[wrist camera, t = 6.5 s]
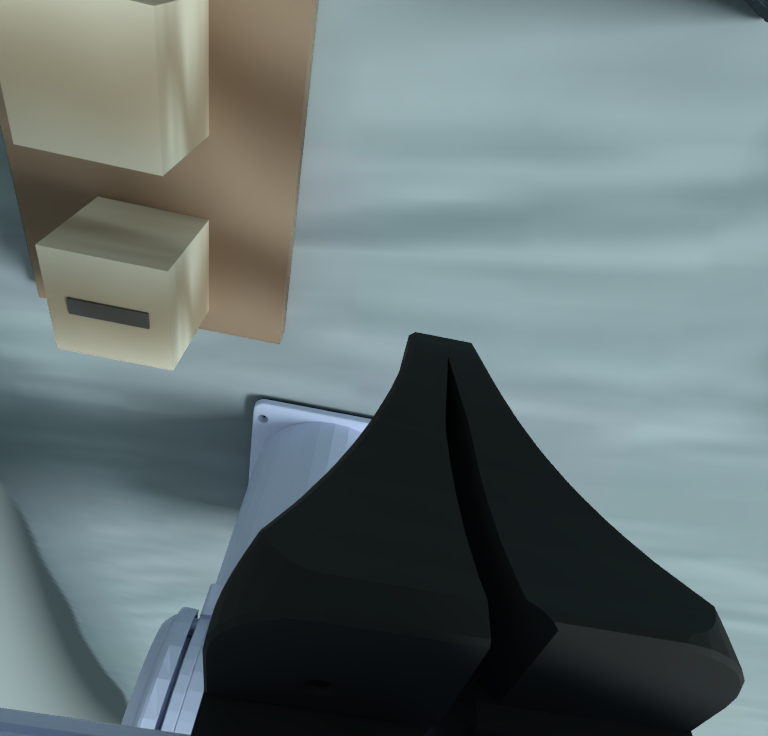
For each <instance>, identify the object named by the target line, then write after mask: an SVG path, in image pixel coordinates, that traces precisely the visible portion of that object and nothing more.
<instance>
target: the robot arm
mask: <svg viewBox="0 0 768 736" xmlns="http://www.w3.org/2000/svg"><path fill="white" fill-rule="evenodd" d="M261 415H264V416H266V417H262V416H261ZM198 611H199V610H197V609H193V608H189V607H184V608H182V609H181V610H180V611H179V613H178V614H176V615H174V616H172V617H171V618H169V619H167V620H166V621H165V622H164V623H163V624H162V625H161V627H160V629H159V631H158V633H157V635H156V637H155V639H154V641H153V643H152V645H151V648H150V650H149V652H148V655H147V657H146V659H145V662H144V664H143V667H142V669H141V672H140V674H139V677H138V679H137V682H136V685H135V687H134V690H133V693H132V695H131V698H130V701H129V704H128V706H127V709H126V712H125V715H124V718H123V721H122V724H121V725H118V724H110V723H104V722H97V721H90V720H83V719H76V718H69V717H61V716H54V715H47V714H40V713H33V712H26V711H19V710H12V709H5V708H0V736H692V733H691V731H692V730H693V729H695V728H696V727H698V726H699V725H701V724H702V723H704V722H705V721H706V720H708V719H709V718H711V717H712V716H714V715H715V714H717V713H718V712H720V711H721V710H723V709H724V708H726V707H727V706H728V705H729V704H730V703H731V702H732V701H733V700H734V699H736V698H737V696H738V694H739V693H740V691H741V688H742V686H743V683H744V681H745V680H744V676H743V672H742V668H741V666H740V664H739V661H738V659H737V657H736V654H735V652H734V649H733V647H732V645H731V642H730V640H729V638H728V635H727V633H726V631H725V629H724V626H723V624H722V622H721V620H720V617H719V615H718V613H717V612H716V610H715V607H714V606H713V605H711V604H710V603H709V602H707V601H706V600H705V599H703V598H702V597H701V596H699V595H698V594H697V593H695V592H694V591H692V590H691V589H690V588H688V587H687V586H686V585H684V584H683V583H682V582H680V581H679V580H678V579H676V578H675V577H674V576H672V575H671V574H670V573H668V572H667V571H665V570H664V569H663V568H661V567H660V566H659V565H658V564H656V563H655V562H654V561H653V560H651V559H650V558H649V557H648V556H647V555H645V554H644V553H643V552H642V551H641V550H639V549H638V548H637V547H636V546H635V545H633V544H632V543H631V542H630V541H629V540H627V539H626V538H625V537H624V536H623V535H622V534H621V533H619V532H618V531H617V530H616V529H615V528H614V527H613V526H612V525H610V524H609V523H608V522H607V521H606V520H605V519H604V518H603V517H602V516H601V515H600V514H599V513H598V512H597V511H596V510H595V509H594V508H593V507H592V506H591V505H590V504H589V503H587V502H586V501H585V500H584V499H583V498H582V497H581V496H580V495H579V494H578V493H577V492H576V490H575V489H574V488H573V487H572V486H571V485H570V484H569V483H568V482H567V481H566V480H565V479H564V478H563V476H562V475H561V474H560V473H559V472H558V471H557V470H556V468H555V467H554V466H553V465H552V464H551V463H550V461H549V460H548V459H547V458H546V457H545V456H544V454H543V453H542V452H541V451H540V449H539V448H538V447H537V446H536V444H535V443H534V442H533V440H532V439H531V438H530V436H529V435H528V434H527V432H526V431H525V429H524V428H523V427H522V425H521V424H520V423H519V421H518V420H517V418H516V417H515V415H514V414H513V412H512V411H511V409H510V407H509V406H508V404H507V403H506V401H505V400H504V398H503V396H502V395H501V393H500V392H499V390H498V388H497V387H496V385H495V383H494V382H493V380H492V378H491V376H490V375H489V373H488V371H487V369H486V368H485V366H484V364H483V362H482V361H481V359H480V357H479V355H478V353H477V352H476V350H475V348H474V347H473V345H472V343H469V342H463V341H458V340H453V339H448V338H443V337H438V336H433V335H427V334H422V333H417V332H415V333H413V334H411V335H409V337H408V341H407V345H406V348H405V352H404V356H403V360H402V363H401V367H400V371H399V373H398V375H397V378H396V380H395V382H394V384H393V386H392V388H391V389H390V391H389V393H388V394H387V396H386V398H385V399H384V401H383V403H382V404H381V406H380V407H379V409H378V411H377V412H376V414H375V415H374V417H373V418H372V419H367V418H362V417H357V416H352V415H346V414H341V413H336V412H330V411H325V410H320V409H315V408H309V407H304V406H299V405H293V404H288V403H283V402H278V401H272V400H267V399H261V400H258V401H257V402H256V404H255V406H254V409H253V424H252V439H251V453H250V468H249V483H248V488H247V491H246V494H245V497H244V500H243V503H242V506H241V509H240V512H239V515H238V518H237V521H236V524H235V527H234V530H233V533H232V536H231V539H230V542H229V545H228V548H227V551H226V554H225V557H224V560H223V563H222V566H221V569H220V572H219V575H218V579H217V582H216V584H211V586H210V589H209V591H208V594H207V597H206V600H205V603H204V606H203V609H202V612H201V615H200V618H199V619H198Z"/></svg>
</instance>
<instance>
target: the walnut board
mask: <svg viewBox="0 0 768 736" xmlns="http://www.w3.org/2000/svg"><path fill="white" fill-rule="evenodd" d="M317 10H318V0H209V136H208V137H207V138H206V139H205V140H203V141H202V142H201V143H200V144H199V145H198V146H197V147H195V148H194V149H193V150H192V151H191V152H190V153H189V154H187V155H186V156H185V157H184V158H183V159H182V160H181V161H180V162H178V163H177V164H176V165H175V166H174V167H173V168H172V169H170V170H169V171H168V172H167V173H166V174H165V175H164V176H160V175H155V174H150V173H146V172H141V171H136V170H132V169H127V168H122V167H118V166H113V165H109V164H104V163H99V162H95V161H90V160H85V159H81V158H76V157H71V156H67V155H62V154H57V153H53V152H48V151H44V150H39V149H34V148H30V147H25V146H20V145H16V144H13V139H12V134H11V130H10V125H9V120H8V116H7V111H6V106H5V102H4V97H3V93H2V88H1V83H0V125H1V129H2V134H3V138H4V143H5V147H6V152H7V156H8V161H9V165H10V170H11V174H12V178H13V183H14V187H15V192H16V196H17V201H18V205H19V210H20V214H21V219H22V223H23V227H24V232H25V236H26V241H27V245H28V250H29V254H30V259H31V263H32V267H33V272H34V276H35V281H36V285H37V290H38V294H39V297H42V298H47V297H46V293H45V288H44V283H43V279H42V274H41V269H40V265H39V260H38V255H37V251H36V246H35V244H37V243H38V242H39V241H41V240H42V239H43V238H44V237H46V236H47V235H48V234H50V233H51V232H52V231H54V230H55V229H56V228H57V227H59V226H60V225H61V224H63V223H64V222H65V221H67V220H68V219H69V218H70V217H72V216H73V215H74V214H76V213H77V212H78V211H80V210H81V209H82V208H84V207H85V206H86V205H87V204H89V203H90V202H91V201H93V200H94V199H95V198H97V197H103V198H107V199H112V200H117V201H122V202H126V203H131V204H136V205H141V206H145V207H150V208H155V209H160V210H164V211H169V212H174V213H178V214H183V215H188V216H193V217H197V218H202V219H207V220H209V311H208V313H207V315H206V316H205V318H204V320H203V321H202V323H201V325H200V326H199V329H204V330H209V331H214V332H220V333H225V334H230V335H235V336H240V337H245V338H250V339H255V340H260V341H265V342H270V343H275V344H280V341H281V339H282V336H283V333H284V329H285V320H286V310H287V300H288V290H289V281H290V271H291V261H292V252H293V242H294V232H295V223H296V213H297V203H298V194H299V184H300V174H301V165H302V155H303V145H304V136H305V126H306V116H307V106H308V97H309V87H310V77H311V68H312V58H313V48H314V39H315V29H316V19H317Z"/></svg>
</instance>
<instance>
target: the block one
mask: <svg viewBox="0 0 768 736" xmlns="http://www.w3.org/2000/svg"><path fill="white" fill-rule="evenodd" d="M35 246H36V251H37V255H38V260H39V265H40V269H41V274H42V279H43V283H44V288H45V293H46V297H47V302H48V307H49V311H50V316H51V320H52V325H53V330H54V334H55V339H56V344H57V348H58V349H62V350H67V351H73V352H78V353H83V354H88V355H94V356H99V357H104V358H109V359H115V360H120V361H125V362H130V363H136V364H141V365H146V366H151V367H157V368H162V369H167V370H172V371H173V370H174V368H175V367H176V365H177V363H178V362H179V360H180V358H181V357H182V355H183V353H184V352H185V350H186V348H187V347H188V345H189V343H190V342H191V340H192V338H193V337H194V335H195V333H196V331H197V330H198V328H199V326H200V325H201V323H202V321H203V320H204V318H205V316H206V315H207V313H208V311H209V220H207V219H202V218H197V217H193V216H188V215H183V214H178V213H174V212H169V211H164V210H160V209H155V208H150V207H145V206H141V205H136V204H131V203H126V202H122V201H117V200H112V199H107V198H103V197H97V198H95V199H94V200H93V201H91V202H90V203H89V204H87V205H86V206H85V207H84V208H82V209H81V210H80V211H78V212H77V213H76V214H74V215H73V216H72V217H70V218H69V219H68V220H67V221H65V222H64V223H63V224H61V225H60V226H59V227H57V228H56V229H55V230H54V231H52V232H51V233H50V234H48V235H47V236H46V237H44V238H43V239H42V240H41V241H39V242H38V243H37V244H35Z"/></svg>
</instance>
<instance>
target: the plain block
mask: <svg viewBox="0 0 768 736" xmlns="http://www.w3.org/2000/svg"><path fill="white" fill-rule="evenodd" d="M0 83H1V88H2V93H3V97H4V102H5V106H6V111H7V116H8V120H9V125H10V130H11V134H12V139H13V144H16V145H20V146H25V147H30V148H34V149H39V150H44V151H48V152H53V153H57V154H62V155H67V156H71V157H76V158H81V159H85V160H90V161H95V162H99V163H104V164H109V165H113V166H118V167H122V168H127V169H132V170H136V171H141V172H146V173H150V174H155V175H160V176H164V175H165V174H166V173H167V172H168V171H169V170H170V169H172V168H173V167H174V166H175V165H176V164H177V163H178V162H180V161H181V160H182V159H183V158H184V157H185V156H186V155H187V154H189V153H190V152H191V151H192V150H193V149H194V148H195V147H197V146H198V145H199V144H200V143H201V142H202V141H203V140H205V139H206V138H207V137H208V136H209V0H0Z"/></svg>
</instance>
